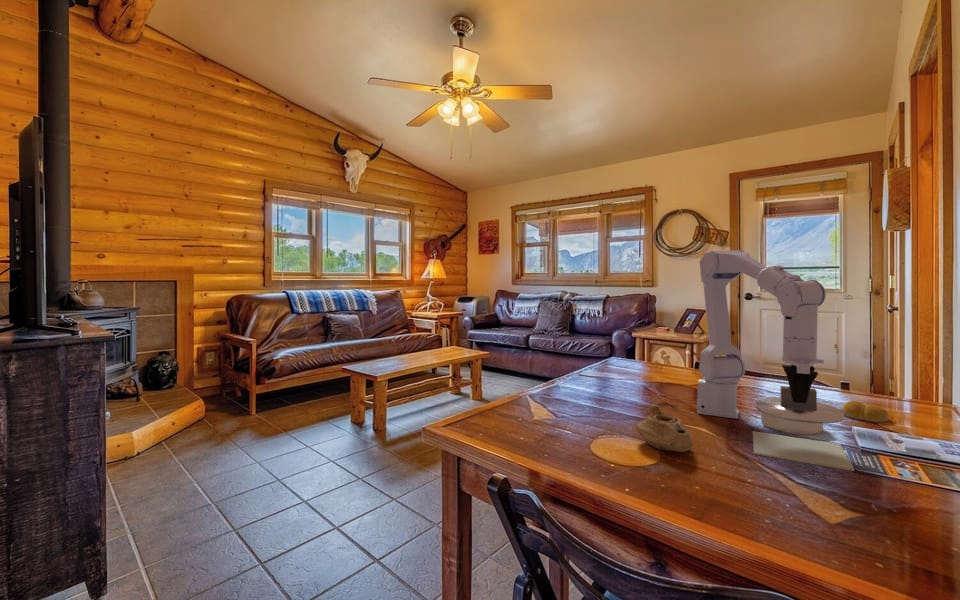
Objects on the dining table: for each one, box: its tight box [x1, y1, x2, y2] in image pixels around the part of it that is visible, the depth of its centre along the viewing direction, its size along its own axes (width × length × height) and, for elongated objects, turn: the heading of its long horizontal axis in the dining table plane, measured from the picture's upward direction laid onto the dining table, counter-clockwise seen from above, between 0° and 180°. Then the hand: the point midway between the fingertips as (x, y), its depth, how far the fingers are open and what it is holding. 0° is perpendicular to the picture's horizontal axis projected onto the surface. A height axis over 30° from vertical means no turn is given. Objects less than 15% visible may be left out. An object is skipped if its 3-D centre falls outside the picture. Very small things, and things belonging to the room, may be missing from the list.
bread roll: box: [841, 400, 890, 423], centre depth 111 cm, size 8×9×4 cm
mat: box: [752, 430, 855, 472], centre depth 91 cm, size 16×14×1 cm
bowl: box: [760, 411, 824, 436], centre depth 105 cm, size 12×12×4 cm
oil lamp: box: [635, 404, 694, 453], centre depth 93 cm, size 11×15×8 cm
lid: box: [755, 385, 845, 424], centre depth 91 cm, size 15×15×5 cm
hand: (798, 400), depth 91 cm, fingers closed on lid, 2 cm apart
